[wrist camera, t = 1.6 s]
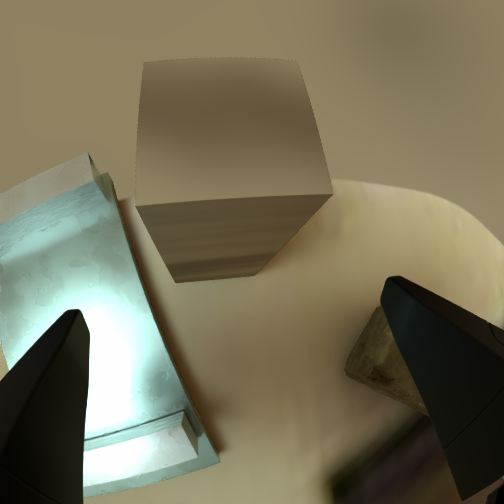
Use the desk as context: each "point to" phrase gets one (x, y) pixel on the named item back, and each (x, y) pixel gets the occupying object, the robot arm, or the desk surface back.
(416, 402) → the stone block
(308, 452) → the desk surface
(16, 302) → the frosted green glass slab
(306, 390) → the desk surface
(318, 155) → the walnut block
